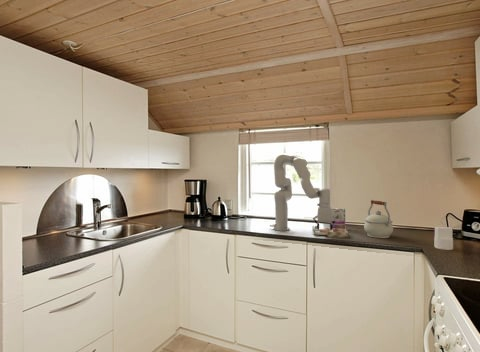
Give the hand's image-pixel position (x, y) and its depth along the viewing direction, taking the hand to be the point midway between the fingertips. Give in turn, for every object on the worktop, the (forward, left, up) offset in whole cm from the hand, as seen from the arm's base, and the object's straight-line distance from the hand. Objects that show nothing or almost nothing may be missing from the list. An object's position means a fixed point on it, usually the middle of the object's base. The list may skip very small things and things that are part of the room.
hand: (324, 229), depth 202 cm
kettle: (+36, +5, -4) cm, 37 cm away
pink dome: (0, 0, -2) cm, 2 cm away
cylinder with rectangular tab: (+66, -23, -4) cm, 70 cm away
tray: (-1, 0, -3) cm, 3 cm away
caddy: (+8, 0, -4) cm, 9 cm away
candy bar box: (+12, +25, -4) cm, 28 cm away
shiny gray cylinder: (-6, +13, -4) cm, 15 cm away
